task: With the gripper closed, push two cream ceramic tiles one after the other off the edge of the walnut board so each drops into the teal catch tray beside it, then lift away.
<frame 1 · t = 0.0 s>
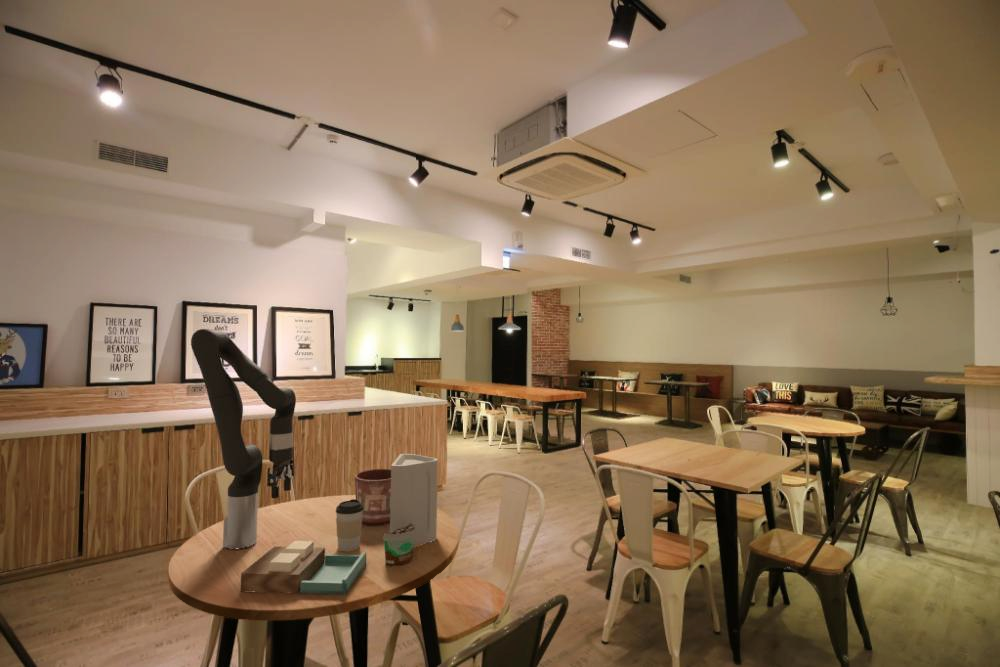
hand: (281, 494, 161), 17 cm above the table, tool pointing down, fingers open, 8 cm apart
white wifi router: (415, 539, 167), on the table
pottery: (376, 520, 185), on the table
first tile: (285, 566, 133), point 5 cm above the table, touching walnut board
coffee cup: (348, 547, 159), on the table
catch tray: (335, 578, 137), on the table
walnut board: (285, 577, 137), on the table
food container: (403, 562, 149), on the table
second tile: (299, 553, 142), point 5 cm above the table, touching walnut board
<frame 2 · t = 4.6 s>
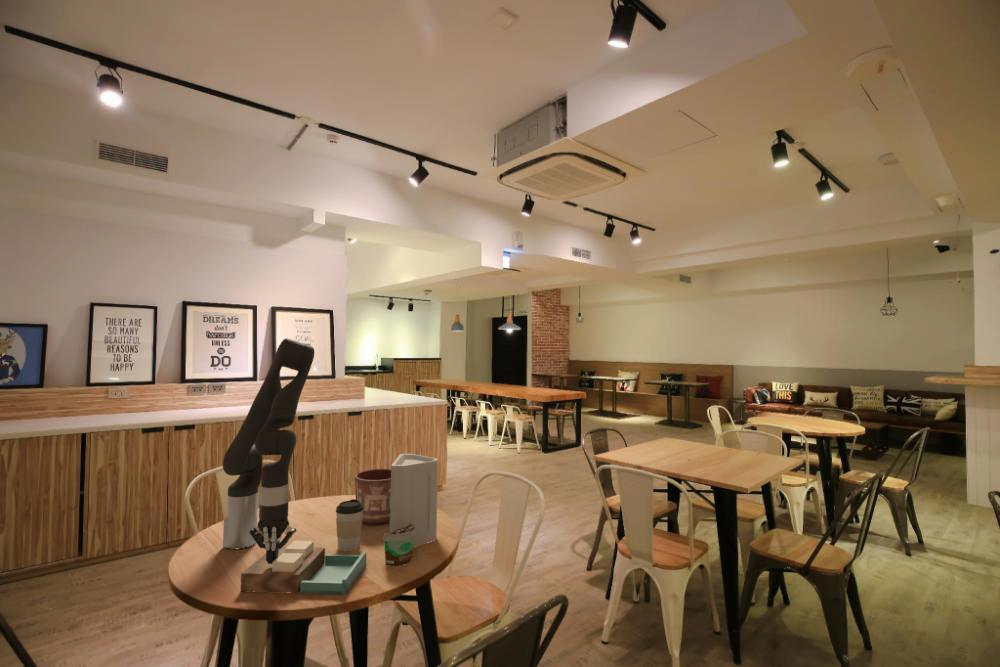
hand: (272, 562, 133), 6 cm above the table, tool pointing down, fingers closed
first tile: (288, 566, 133), point 5 cm above the table, touching gripper
everything else where it was.
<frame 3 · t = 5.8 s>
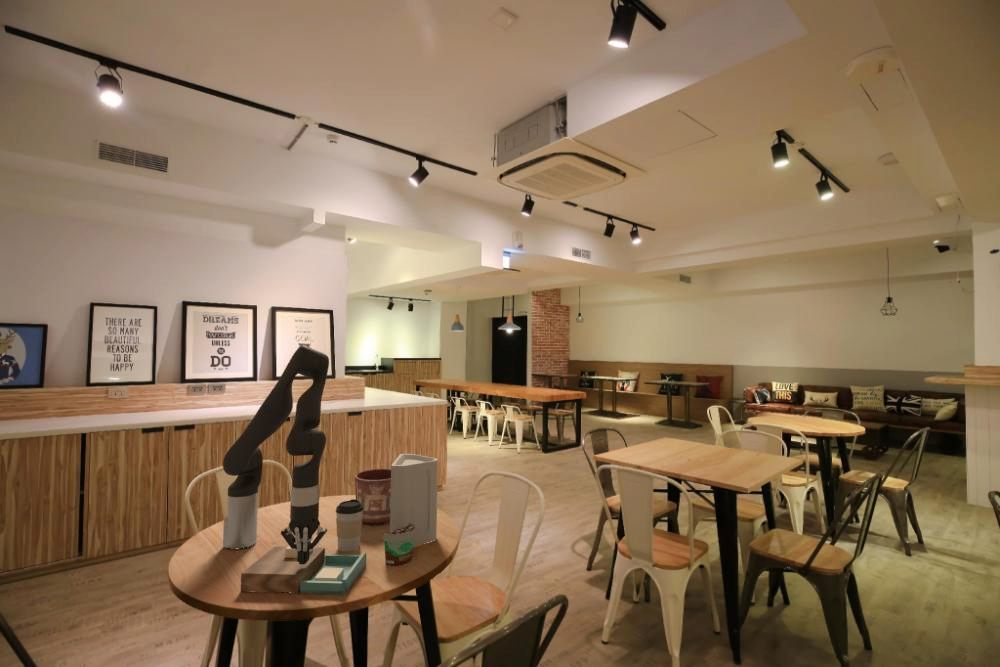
hand: (303, 563, 133), 6 cm above the table, tool pointing down, fingers closed
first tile: (329, 572, 133), point 3 cm above the table, tilted 180°, touching catch tray
everything else where it was.
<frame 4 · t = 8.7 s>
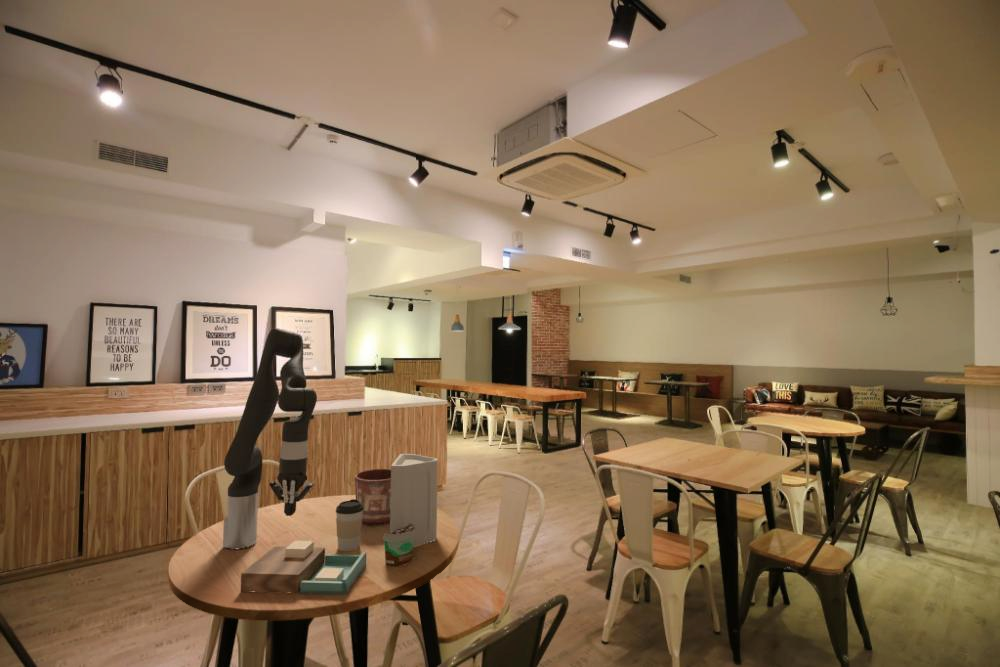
hand: (289, 514, 138), 18 cm above the table, tool pointing down, fingers closed
nothing on the table moved.
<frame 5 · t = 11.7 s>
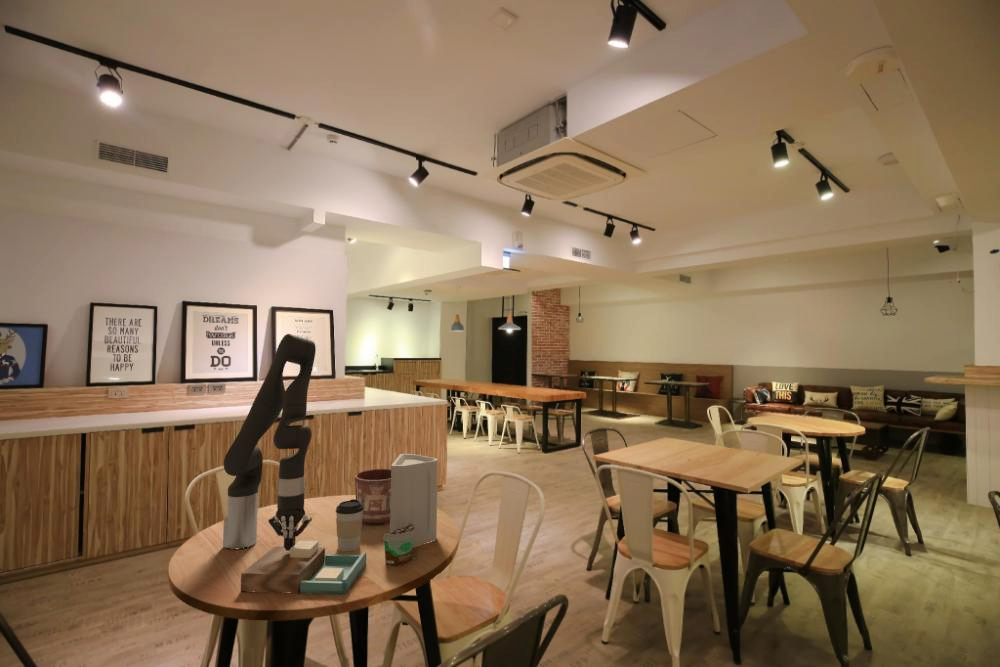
hand: (289, 549, 142), 6 cm above the table, tool pointing down, fingers closed
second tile: (304, 553, 142), point 5 cm above the table, touching gripper
everything else where it was.
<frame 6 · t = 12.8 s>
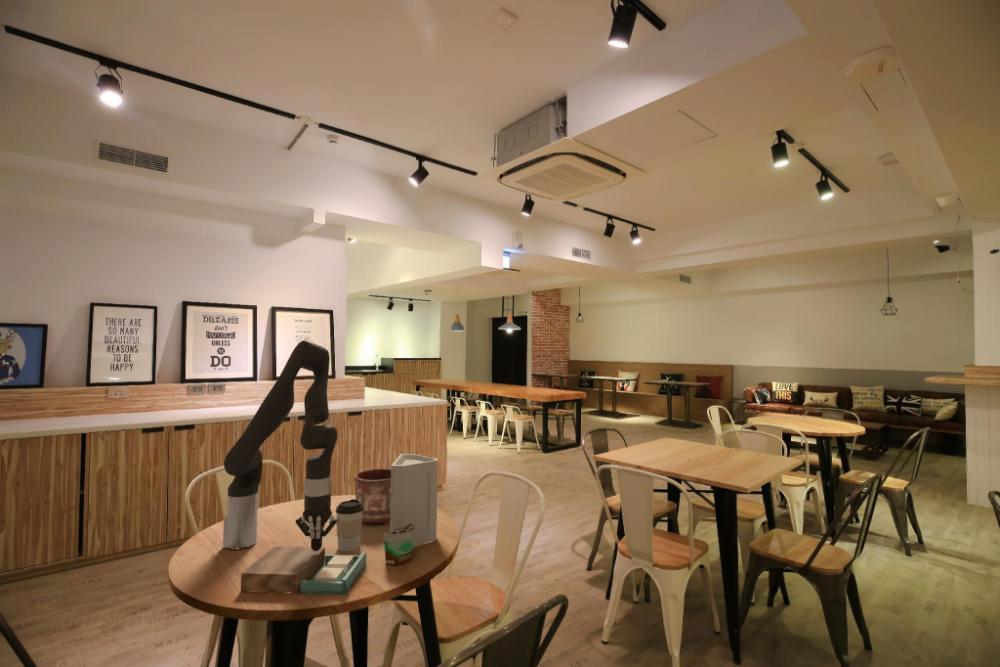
hand: (316, 549, 142), 6 cm above the table, tool pointing down, fingers closed
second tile: (341, 559, 142), point 3 cm above the table, tilted 180°, touching catch tray
everything else where it was.
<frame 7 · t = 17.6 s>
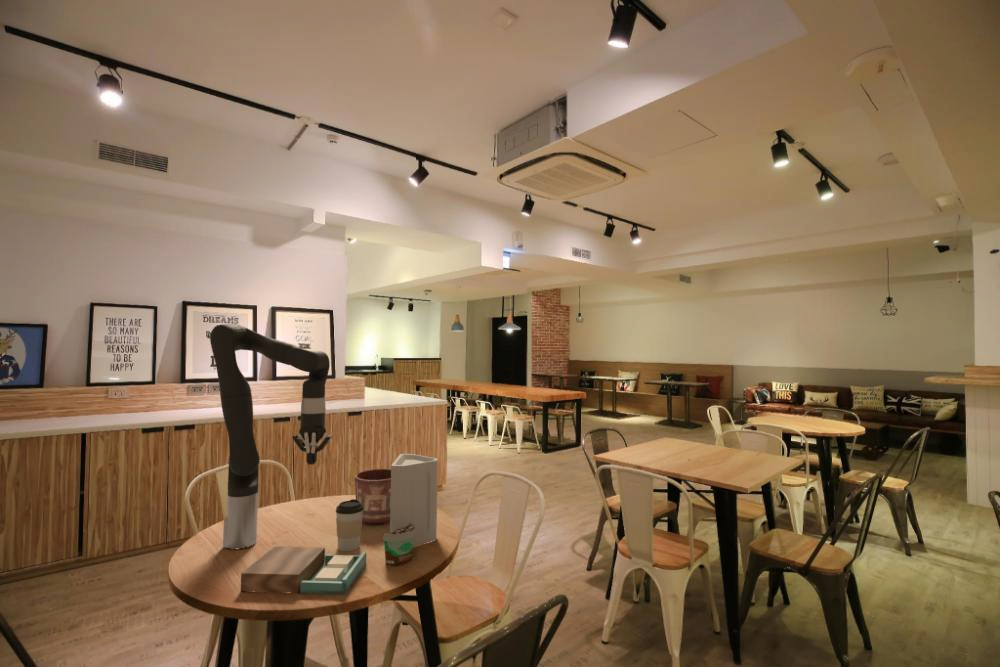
hand: (311, 464, 155), 29 cm above the table, tool pointing down, fingers closed
nothing on the table moved.
at the end: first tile inside the target area (3.8 cm from its centre), point 3.3 cm above the table; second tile inside the target area (4.8 cm from its centre), point 3.3 cm above the table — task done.
